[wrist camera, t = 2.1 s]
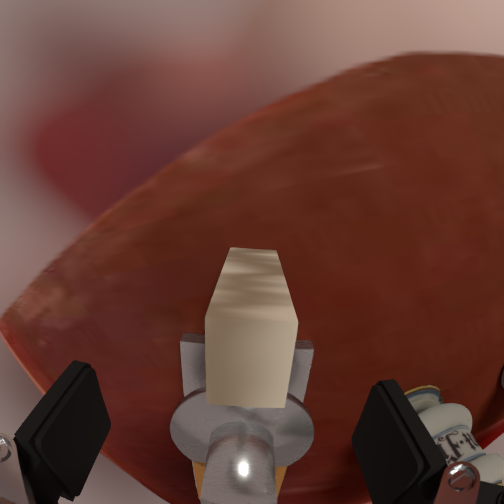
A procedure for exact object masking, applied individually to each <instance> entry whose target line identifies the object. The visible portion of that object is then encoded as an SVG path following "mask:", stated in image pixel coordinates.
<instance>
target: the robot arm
mask: <svg viewBox="0 0 504 504" xmlns="http://www.w3.org/2000/svg"><path fill="white" fill-rule="evenodd" d="M501 385H502V387H503V389H504V369H503V373H502V378H501ZM110 427H111V422H110V418H109V415H108V412H107V409H106V406H105V403H104V400H103V397H102V394H101V390H100V387H99V383H98V380H97V376H96V372H95V370H94V369H92V368H91V365H90V364H88V363H84V362H80V361H76V360H75V361H73V362H72V363H71V364H70V365H69V366H68V367H67V368H66V370H65V371H64V372H63V373H62V374H61V376H60V377H59V378H58V379H57V380H56V382H55V383H54V384H53V385H52V387H51V388H50V389H49V390H48V391H47V393H46V394H45V395H44V396H43V398H42V399H41V400H40V401H39V403H38V404H37V405H36V407H35V408H34V409H33V410H32V412H31V413H30V414H29V416H28V417H27V418H26V420H25V421H24V422H23V423H22V425H21V426H20V427H19V429H18V430H17V431H16V433H15V434H14V435H15V437H14V439H12V438H11V437H10V436H8V435H6V434H4V433H0V504H58V500H59V498H60V496H61V497H63V498H66V499H68V500H70V501H73V500H74V498H75V496H79V495H80V493H81V491H82V489H83V486H84V484H85V482H86V480H87V478H88V475H89V473H90V471H91V469H92V466H93V464H94V462H95V460H96V458H97V456H98V454H99V451H100V449H101V447H102V445H103V443H104V441H105V439H106V437H107V435H108V432H109V430H110ZM352 445H353V448H354V451H355V453H356V456H357V459H358V462H359V465H360V468H361V471H362V473H363V476H364V479H365V482H366V485H367V488H368V491H369V494H370V497H371V500H372V503H373V504H504V486H501V485H497V484H493V483H488V482H484V481H480V474H479V471H478V470H477V468H476V467H475V466H474V465H472V464H471V463H468V462H464V461H458V462H454V463H452V464H450V465H449V466H448V464H447V463H446V462H447V461H446V459H445V458H444V456H443V454H442V453H441V451H440V449H439V448H438V446H437V445H436V443H435V441H434V440H433V438H432V436H431V435H430V433H429V432H428V430H427V428H426V427H425V425H424V424H423V422H422V420H421V419H420V417H419V416H418V414H417V413H416V411H415V409H414V408H413V406H412V405H411V403H410V402H409V400H408V399H407V397H406V395H405V394H404V392H403V391H402V389H401V388H400V386H399V385H398V383H397V382H396V381H395V380H393V379H391V380H383V381H378V382H377V383H376V385H374V386H373V387H372V388H371V391H370V393H369V396H368V399H367V401H366V404H365V406H364V409H363V411H362V414H361V416H360V419H359V421H358V424H357V426H356V428H355V431H354V433H353V435H352Z"/></svg>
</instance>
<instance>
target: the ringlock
mask: <svg viewBox="0 0 504 504" xmlns="http://www.w3.org/2000/svg"><path fill="white" fill-rule="evenodd" d="M180 349H181V364H182V377H183V389H184V398H183V399H182V400H181V401H180V402H179V403H178V405H177V406H176V408H175V411H174V413H173V416H172V419H171V424H170V433H171V436H172V439H173V441H174V443H175V445H176V446H177V448H178V449H179V450H180V451H181V452H182V453H183V454H184V455H185V456H187V457H188V458H189V459H191V460H192V465H193V471H194V477H195V483H196V488H197V491H198V497H199V500H200V502H201V504H277V497H278V494H279V491H280V488H281V485H282V481H283V478H284V475H285V471H286V468H287V466H289V465H291V464H292V463H294V462H295V461H297V460H298V459H300V458H301V457H302V456H303V455H304V454H305V453H306V452H307V451H308V449H309V448H310V446H311V444H312V442H313V438H314V428H313V423H312V419H311V415H310V413H309V411H308V409H307V408H306V406H305V405H304V404H303V400H304V395H305V391H306V386H307V382H308V377H309V372H310V367H311V362H312V357H313V352H314V348H313V345H312V342H311V340H296V342H295V349H294V355H293V361H292V367H291V373H290V379H289V385H288V391H287V396H286V402H285V407H284V408H262V407H241V406H227V405H215V404H207V399H206V363H205V335H202V334H192V333H184V334H183V336H182V338H181V340H180Z"/></svg>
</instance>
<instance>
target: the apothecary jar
mask: <svg viewBox="0 0 504 504" xmlns="http://www.w3.org/2000/svg"><path fill="white" fill-rule="evenodd" d="M404 394H405V395H406V397H407V399H408V400H409V402H410V403H411V405H412V406H413V408H414V409H415V411H416V413H417V414H418V416H419V417H420V419H421V420H422V422H423V424H424V425H425V427H426V428H427V430H428V432H429V433H430V435H431V436H432V438H433V440H434V441H435V443H436V445H437V446H438V448H439V449H440V451H441V453H442V454H443V456H444V458H445V459H446V461H447V462H446V463H447V464H448V466H449V465H450V464H452V463H454V462H458V461H464V462H468V463H471V464H472V465H474V466H475V467H476V468H477V470H478V471H479V474H480V481H484V482H488V483H493V484H497V485H501V486H503V484H502V480H503V478H504V458H503V457H502V456H501V455H499V454H487V455H486V454H485V452H484V451H483V450H482V449H481V447H480V446H479V444H478V443H477V442H476V440H475V439H474V437H473V436H472V434H471V433H470V432H471V428H472V417H471V414H470V412H469V410H468V409H467V408H466V407H464V406H462V405H460V404H455V403H447V404H443V397H441V396H440V389H439V388H437V387H435V386H431V385H428V386H421V387H417V388H414V389H411V390H409V391H407V392H405V393H404Z"/></svg>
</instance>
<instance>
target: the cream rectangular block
mask: <svg viewBox="0 0 504 504" xmlns="http://www.w3.org/2000/svg"><path fill="white" fill-rule="evenodd" d="M297 328H298V320H297V317H296V313H295V310H294V307H293V303H292V300H291V297H290V294H289V290H288V287H287V284H286V280H285V277H284V274H283V271H282V268H281V264H280V261H279V258H278V255H277V252H276V250H261V249H245V248H230V250H229V253H228V255H227V258H226V261H225V264H224V266H223V269H222V272H221V274H220V277H219V280H218V283H217V285H216V288H215V291H214V294H213V296H212V299H211V302H210V305H209V308H208V310H207V313H206V316H205V363H206V399H207V404H215V405H227V406H241V407H262V408H284V407H285V402H286V396H287V391H288V385H289V379H290V373H291V367H292V361H293V355H294V349H295V342H296V335H297Z"/></svg>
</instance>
